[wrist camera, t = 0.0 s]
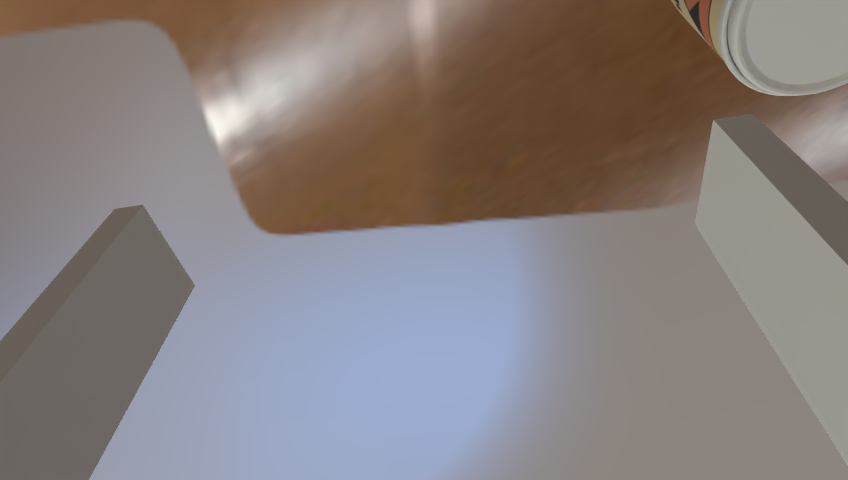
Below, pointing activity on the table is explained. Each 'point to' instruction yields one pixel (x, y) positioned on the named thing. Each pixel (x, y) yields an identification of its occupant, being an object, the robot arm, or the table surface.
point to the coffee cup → (776, 41)
